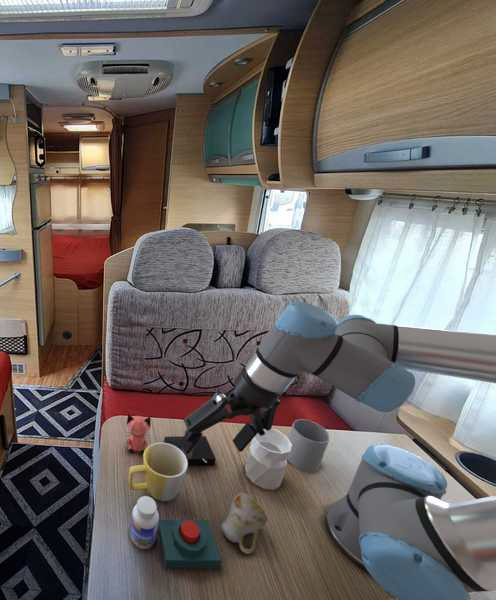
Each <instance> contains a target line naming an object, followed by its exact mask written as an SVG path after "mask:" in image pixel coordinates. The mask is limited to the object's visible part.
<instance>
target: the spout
mask: <svg viewBox="0 0 496 600" xmlns="http://www.w3.org/2000/svg"><path fill="white" fill-rule="evenodd" d="M186 431H187V427H186V428H185V431H184V433H183V435H184V434H185V432H186ZM194 447H195V446H194ZM194 447H193V449H192V450H191V451H190V453H189V454H185V451H184V449H183V447H182V452H183V453H184V455H185V456H186V458H189V459H191V457H192V453H193V450H194Z"/></svg>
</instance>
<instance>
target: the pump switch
mask: <svg viewBox="0 0 496 600" xmlns="http://www.w3.org/2000/svg"><path fill="white" fill-rule="evenodd" d="M186 520H190V521H193V522H194V523H195V524H196V525H197V526H198V528H199V537H198V540H197V542H196V543H194V544H190V543H187V542H185V541H184V540H183V539H182V537H181V534H180V530H181V525H182V523H183V522H184V521H186ZM157 532H158V537H159V542H160V548H161V552H162V557H163V558H162V559H163V564H164V567H165V568H221V564H222V557H221V555H220V552H219V549H218V546H217V542H216V540H215V537H214V534H213V531H212V528H211V524H210V521H209V520H207V519H192V518H190V517H180V518H179V519H158V527H157Z"/></svg>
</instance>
